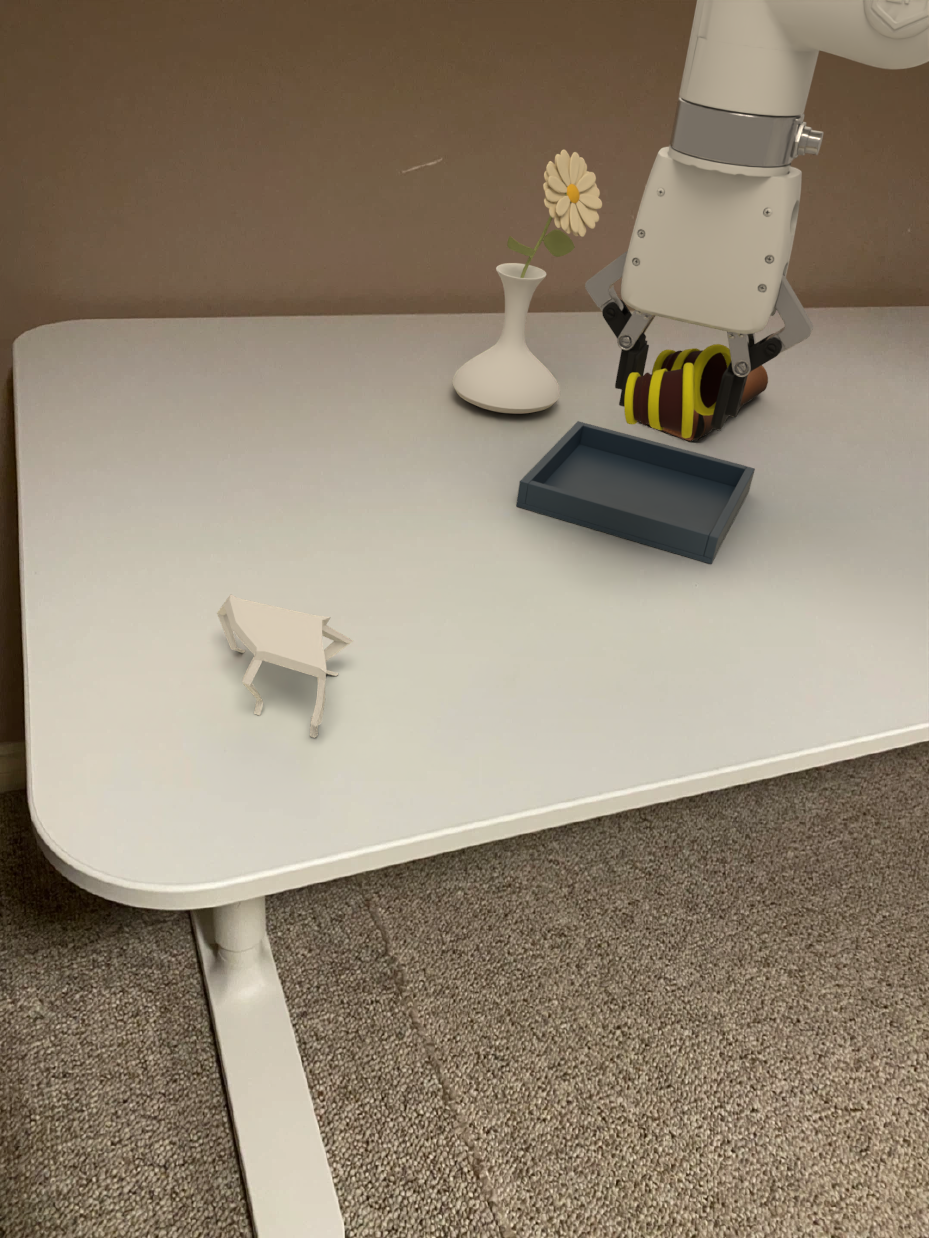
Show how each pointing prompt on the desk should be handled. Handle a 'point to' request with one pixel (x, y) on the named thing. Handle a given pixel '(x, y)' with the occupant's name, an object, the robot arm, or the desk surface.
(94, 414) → the desk surface
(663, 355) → the opera glasses
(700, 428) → the sunglasses case
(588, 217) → the flower in vase
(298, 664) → the origami figure
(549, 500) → the tray
